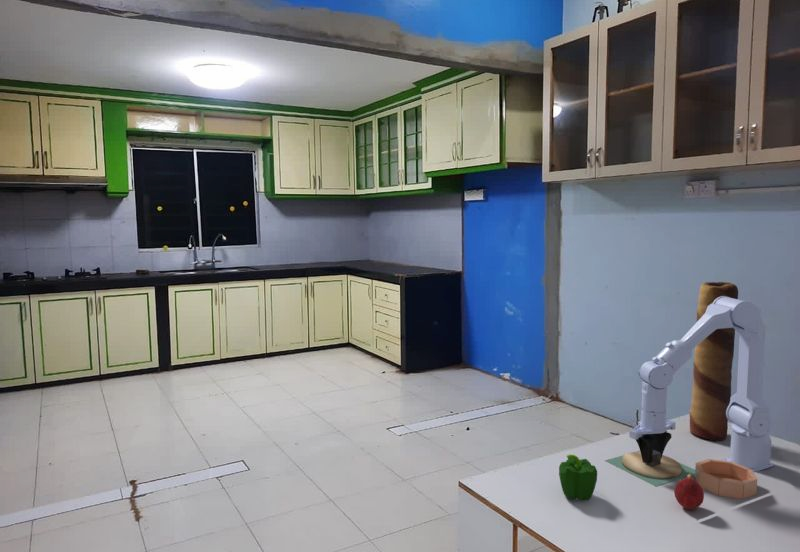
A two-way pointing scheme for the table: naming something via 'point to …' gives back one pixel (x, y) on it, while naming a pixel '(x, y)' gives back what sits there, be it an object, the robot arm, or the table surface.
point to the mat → (656, 482)
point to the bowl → (726, 478)
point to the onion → (689, 493)
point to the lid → (652, 465)
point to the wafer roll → (712, 370)
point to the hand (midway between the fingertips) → (651, 460)
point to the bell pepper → (577, 478)
